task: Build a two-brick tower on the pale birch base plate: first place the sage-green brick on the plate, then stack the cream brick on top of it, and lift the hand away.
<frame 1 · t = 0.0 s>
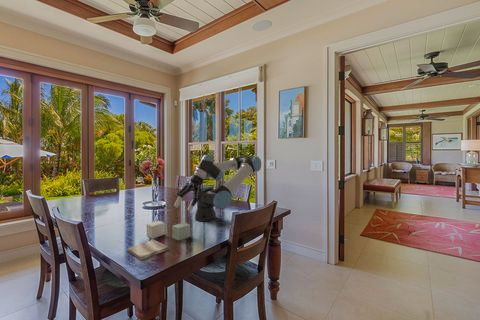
hand: (182, 208, 136), 15 cm above the table, tool tilted 35°, fingers open, 13 cm apart
cream brick: (155, 235, 135), on the table
sage brick: (181, 237, 132), on the table
base plate: (147, 250, 115), on the table
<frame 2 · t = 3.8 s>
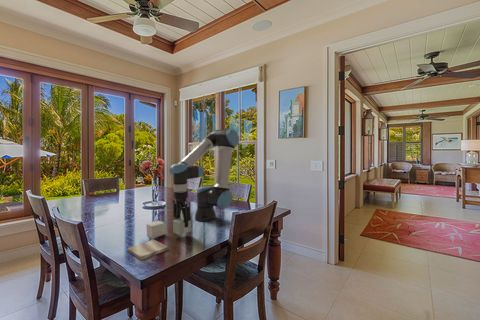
hand: (182, 231, 132), 3 cm above the table, tool pointing down, fingers closed on sage brick, 6 cm apart
sage brick: (182, 231, 132), point 3 cm above the table, touching gripper
everything else where it was.
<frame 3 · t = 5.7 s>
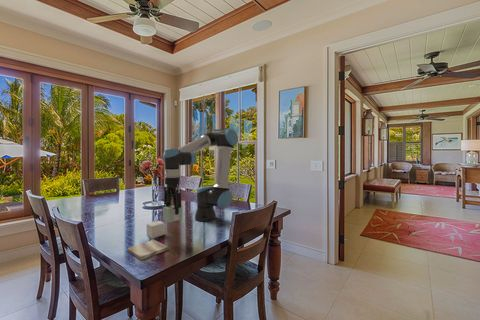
hand: (172, 218, 126), 12 cm above the table, tool pointing down, fingers closed on sage brick, 6 cm apart
sage brick: (172, 219, 126), point 12 cm above the table, touching gripper
everything else where it was.
when the fingers open (3 cm above the table, at t = 7.9 s): sage brick stays where it is, resting on base plate.
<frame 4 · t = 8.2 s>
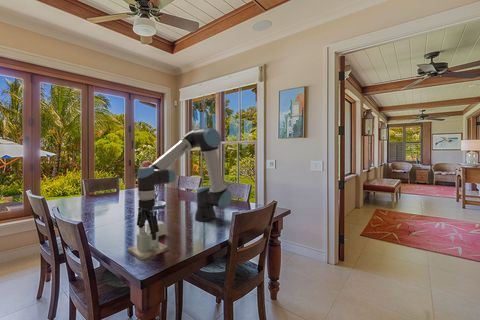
hand: (147, 242, 115), 4 cm above the table, tool pointing down, fingers open, 10 cm apart
sage brick: (147, 247, 115), point 1 cm above the table, touching base plate
everything else where it was.
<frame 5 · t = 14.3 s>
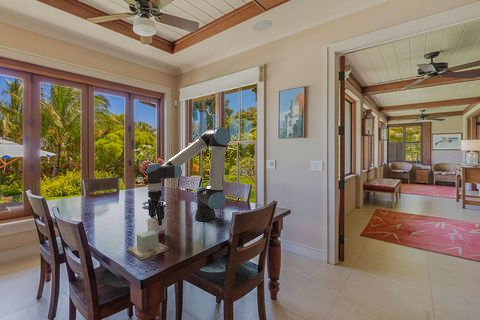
hand: (156, 229, 135), 3 cm above the table, tool pointing down, fingers closed on cream brick, 6 cm apart
cream brick: (156, 230, 135), point 3 cm above the table, touching gripper
everything else where it was.
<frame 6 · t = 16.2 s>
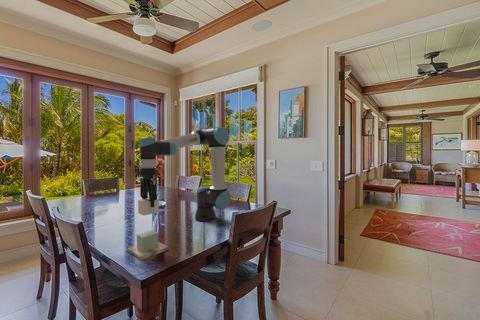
hand: (148, 212, 120), 18 cm above the table, tool pointing down, fingers closed on cream brick, 6 cm apart
cream brick: (148, 212, 120), point 17 cm above the table, touching gripper
everything else where it was.
when the fingers open (10 cm above the table, at t = 18.3 s): cream brick stays where it is, resting on sage brick.
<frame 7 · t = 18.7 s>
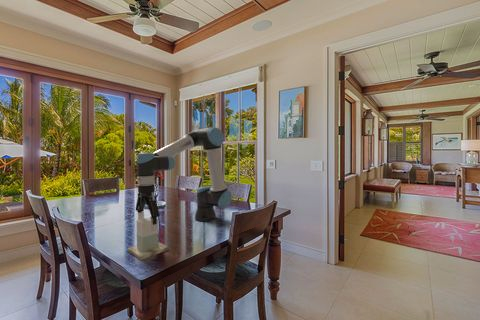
hand: (147, 227, 114), 11 cm above the table, tool pointing down, fingers open, 12 cm apart
cream brick: (147, 233, 114), point 8 cm above the table, touching sage brick
sage brick: (147, 247, 115), point 1 cm above the table, touching base plate, cream brick
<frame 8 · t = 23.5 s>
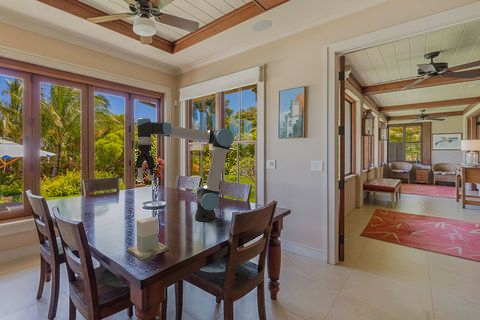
hand: (145, 179, 141), 32 cm above the table, tool pointing down, fingers open, 13 cm apart
nothing on the table moved.
at the end: sage brick inside the target area on the base plate (0.0 cm from its centre), point 1.5 cm above the base plate's base; cream brick inside the target area on the base plate (0.1 cm from its centre), point 8.5 cm above the base plate's base; cream brick tilted 0° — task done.
